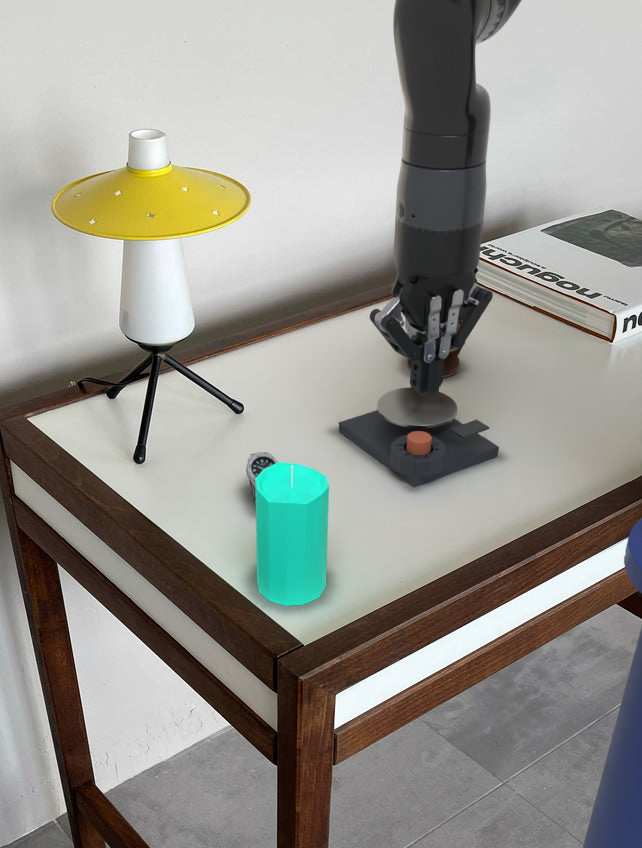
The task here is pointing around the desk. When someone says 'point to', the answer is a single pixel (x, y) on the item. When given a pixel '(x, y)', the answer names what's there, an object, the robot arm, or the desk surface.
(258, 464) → the wristwatch
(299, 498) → the candle
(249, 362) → the desk surface
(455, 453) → the scale
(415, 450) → the tare button
